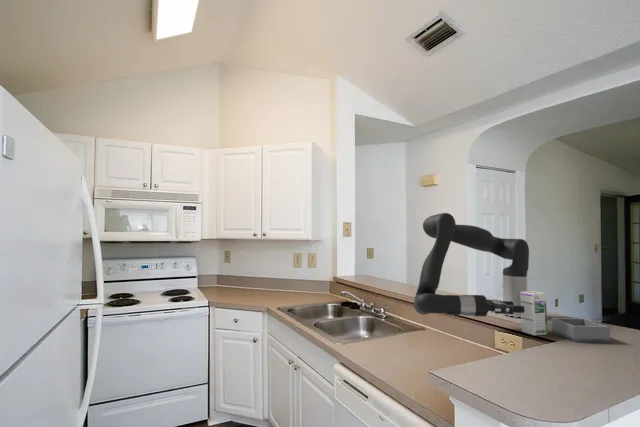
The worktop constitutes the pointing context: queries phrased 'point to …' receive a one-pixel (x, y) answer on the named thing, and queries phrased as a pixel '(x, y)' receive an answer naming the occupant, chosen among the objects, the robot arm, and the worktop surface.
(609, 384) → the worktop surface
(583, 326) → the tray
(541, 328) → the syrup box
